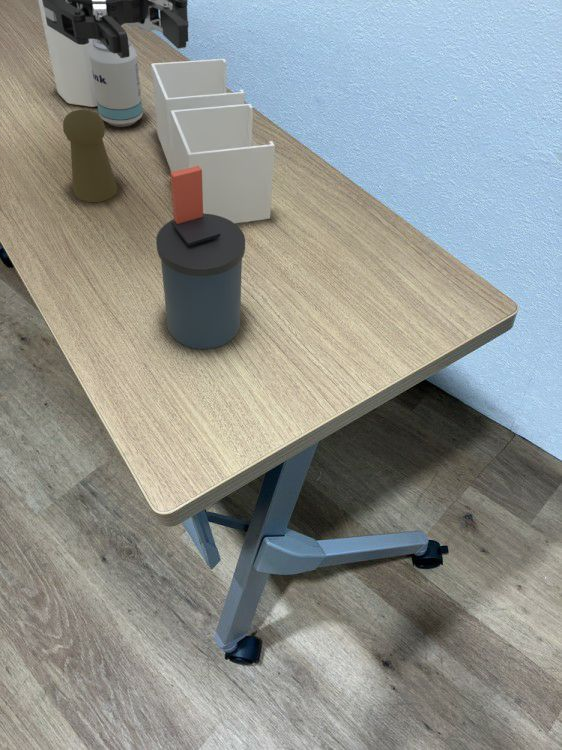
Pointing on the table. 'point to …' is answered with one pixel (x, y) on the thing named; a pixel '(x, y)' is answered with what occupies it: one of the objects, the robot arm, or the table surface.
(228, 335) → the travel cup
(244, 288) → the table surface
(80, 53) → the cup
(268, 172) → the storage container
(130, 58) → the beverage can
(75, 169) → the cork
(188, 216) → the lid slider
